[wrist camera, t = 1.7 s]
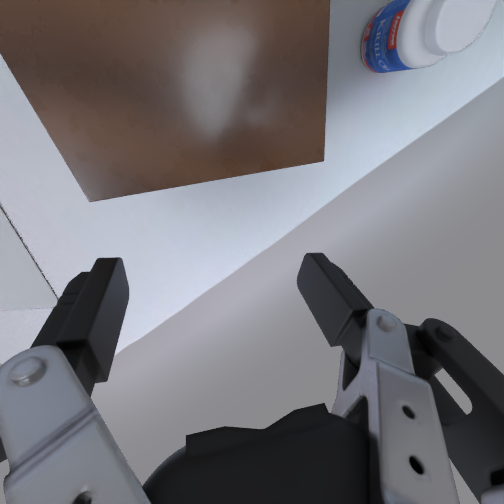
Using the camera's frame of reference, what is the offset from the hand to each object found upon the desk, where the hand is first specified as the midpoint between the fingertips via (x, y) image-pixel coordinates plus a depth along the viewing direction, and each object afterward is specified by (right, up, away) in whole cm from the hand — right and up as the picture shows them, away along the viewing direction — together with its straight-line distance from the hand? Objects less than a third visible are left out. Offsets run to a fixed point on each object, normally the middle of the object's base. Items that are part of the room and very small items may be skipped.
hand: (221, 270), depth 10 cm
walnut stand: (-4, +19, +14) cm, 24 cm away
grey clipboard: (-44, +1, +22) cm, 49 cm away
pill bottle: (+15, +23, +14) cm, 31 cm away
